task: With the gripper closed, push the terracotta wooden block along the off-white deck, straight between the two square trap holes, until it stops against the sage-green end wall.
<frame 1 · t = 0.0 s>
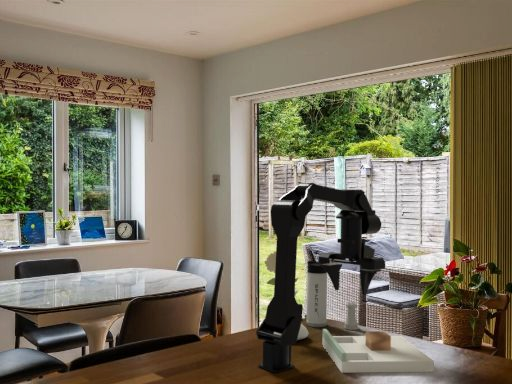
hand: (350, 292, 150), 15 cm above the table, tool pointing down, fingers open, 9 cm apart
block: (377, 347, 140), point 2 cm above the table, touching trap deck
flower in vase: (285, 339, 157), on the table
rook chess piece: (351, 329, 170), on the table
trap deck: (373, 357, 140), on the table
travel mug: (315, 325, 174), on the table
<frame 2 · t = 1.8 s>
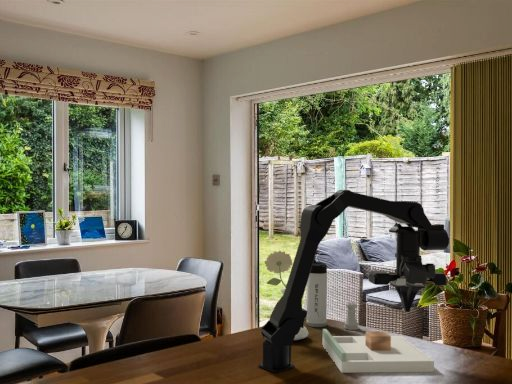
hand: (407, 311, 141), 12 cm above the table, tool pointing down, fingers closed
nothing on the table moved.
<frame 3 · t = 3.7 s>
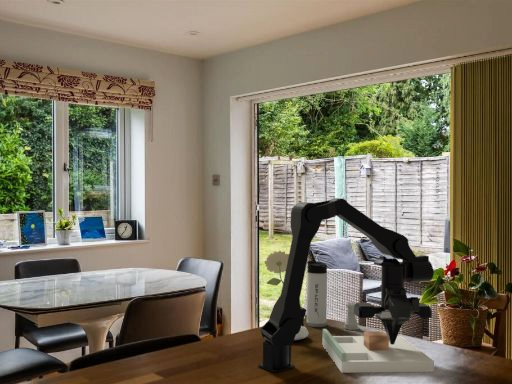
hand: (392, 344, 140), 3 cm above the table, tool pointing down, fingers closed
block: (375, 347, 140), point 2 cm above the table, touching gripper, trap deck
everything else where it was.
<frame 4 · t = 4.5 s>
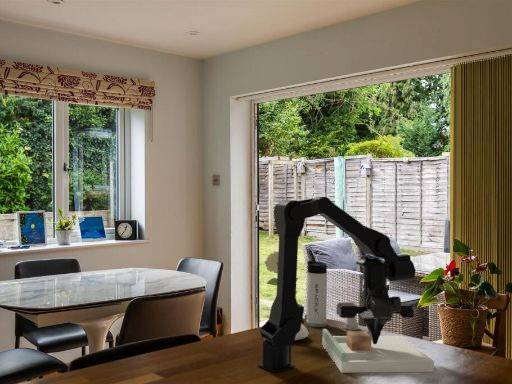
hand: (374, 343, 140), 3 cm above the table, tool pointing down, fingers closed
block: (358, 347, 140), point 3 cm above the table, touching gripper
everything else where it was.
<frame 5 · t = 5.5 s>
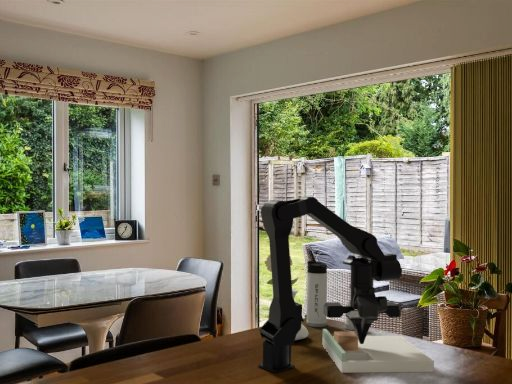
hand: (361, 343, 140), 4 cm above the table, tool pointing down, fingers closed
block: (345, 347, 139), point 2 cm above the table, touching gripper, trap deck
everything else where it was.
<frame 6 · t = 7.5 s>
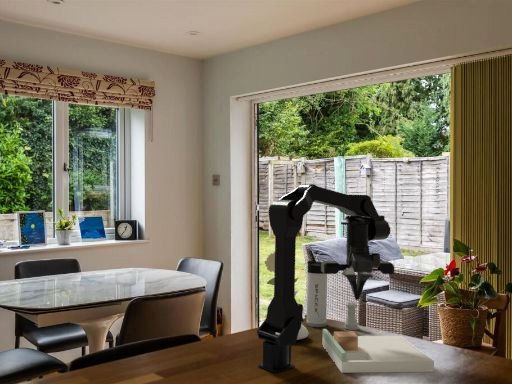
hand: (357, 299, 148), 13 cm above the table, tool pointing down, fingers closed
block: (345, 347, 139), point 2 cm above the table, touching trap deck
everything else where it was.
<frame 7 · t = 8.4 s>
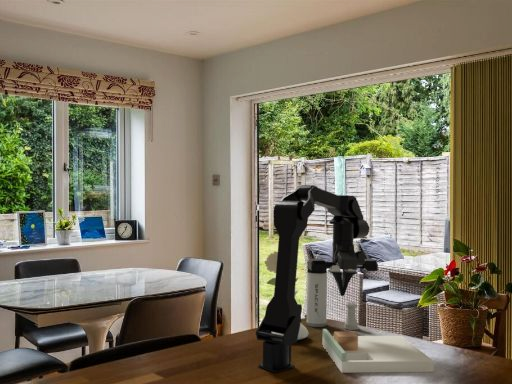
hand: (342, 295, 154), 13 cm above the table, tool pointing down, fingers closed
nothing on the table moved.
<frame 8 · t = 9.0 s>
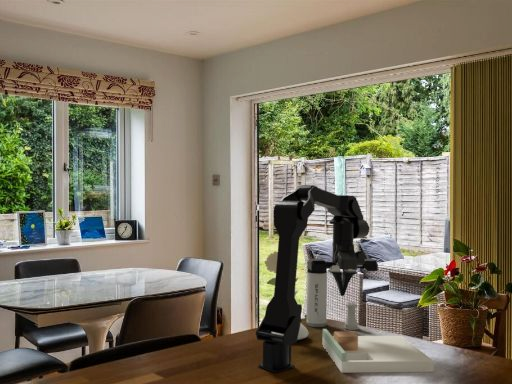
hand: (342, 295, 154), 13 cm above the table, tool pointing down, fingers closed
nothing on the table moved.
at the end: block 0.6 cm from the target spot, point 2.5 cm above the table; block tilted 0° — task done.
